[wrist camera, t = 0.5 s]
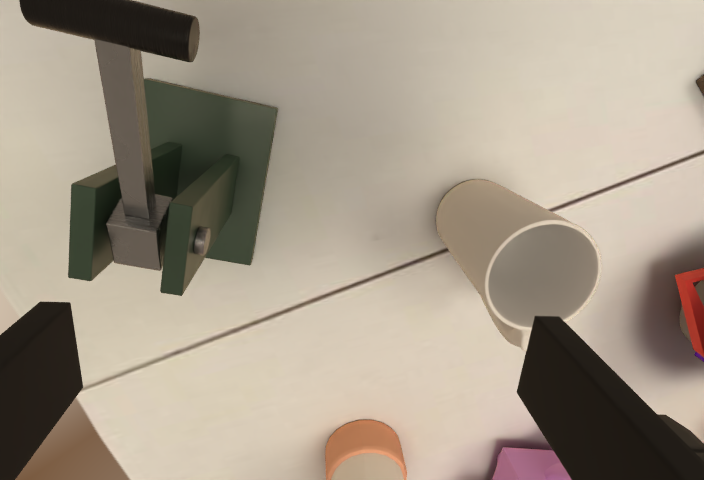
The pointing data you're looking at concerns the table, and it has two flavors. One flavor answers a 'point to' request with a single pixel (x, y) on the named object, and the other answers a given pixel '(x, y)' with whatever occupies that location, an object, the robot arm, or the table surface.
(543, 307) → the mug
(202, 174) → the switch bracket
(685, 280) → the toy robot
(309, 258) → the table surface
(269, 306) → the table surface
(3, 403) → the robot arm
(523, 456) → the teapot
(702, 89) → the button block
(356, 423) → the pepper shaker
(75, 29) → the lever
